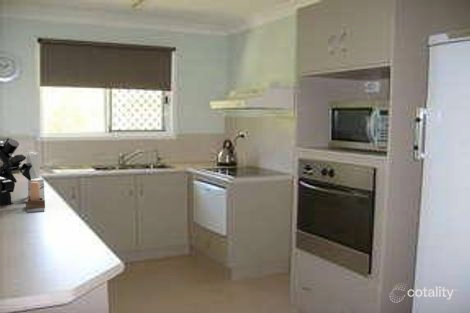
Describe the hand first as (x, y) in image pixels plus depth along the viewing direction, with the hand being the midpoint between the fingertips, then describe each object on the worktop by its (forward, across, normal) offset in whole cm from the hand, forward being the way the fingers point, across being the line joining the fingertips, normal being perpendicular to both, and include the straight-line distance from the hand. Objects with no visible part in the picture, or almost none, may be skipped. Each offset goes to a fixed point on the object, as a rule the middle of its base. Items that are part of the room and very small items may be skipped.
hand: (23, 181), depth 252 cm
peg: (+15, 0, +4) cm, 15 cm away
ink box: (+2, +18, +17) cm, 25 cm away
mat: (+21, -8, -2) cm, 22 cm away
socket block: (+15, 0, +4) cm, 15 cm away
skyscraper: (-5, +26, +25) cm, 36 cm away
